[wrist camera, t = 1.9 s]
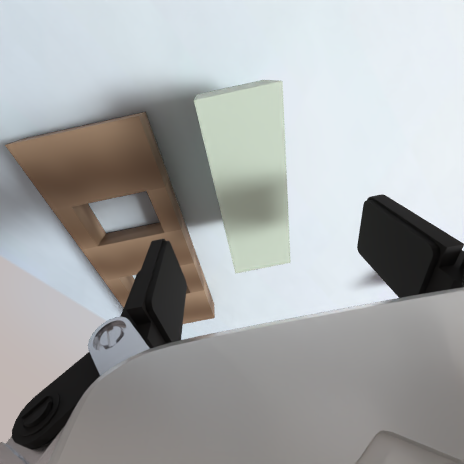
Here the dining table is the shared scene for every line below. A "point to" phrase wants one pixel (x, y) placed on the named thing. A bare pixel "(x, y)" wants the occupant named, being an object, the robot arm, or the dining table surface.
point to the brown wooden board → (111, 186)
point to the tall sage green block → (249, 169)
